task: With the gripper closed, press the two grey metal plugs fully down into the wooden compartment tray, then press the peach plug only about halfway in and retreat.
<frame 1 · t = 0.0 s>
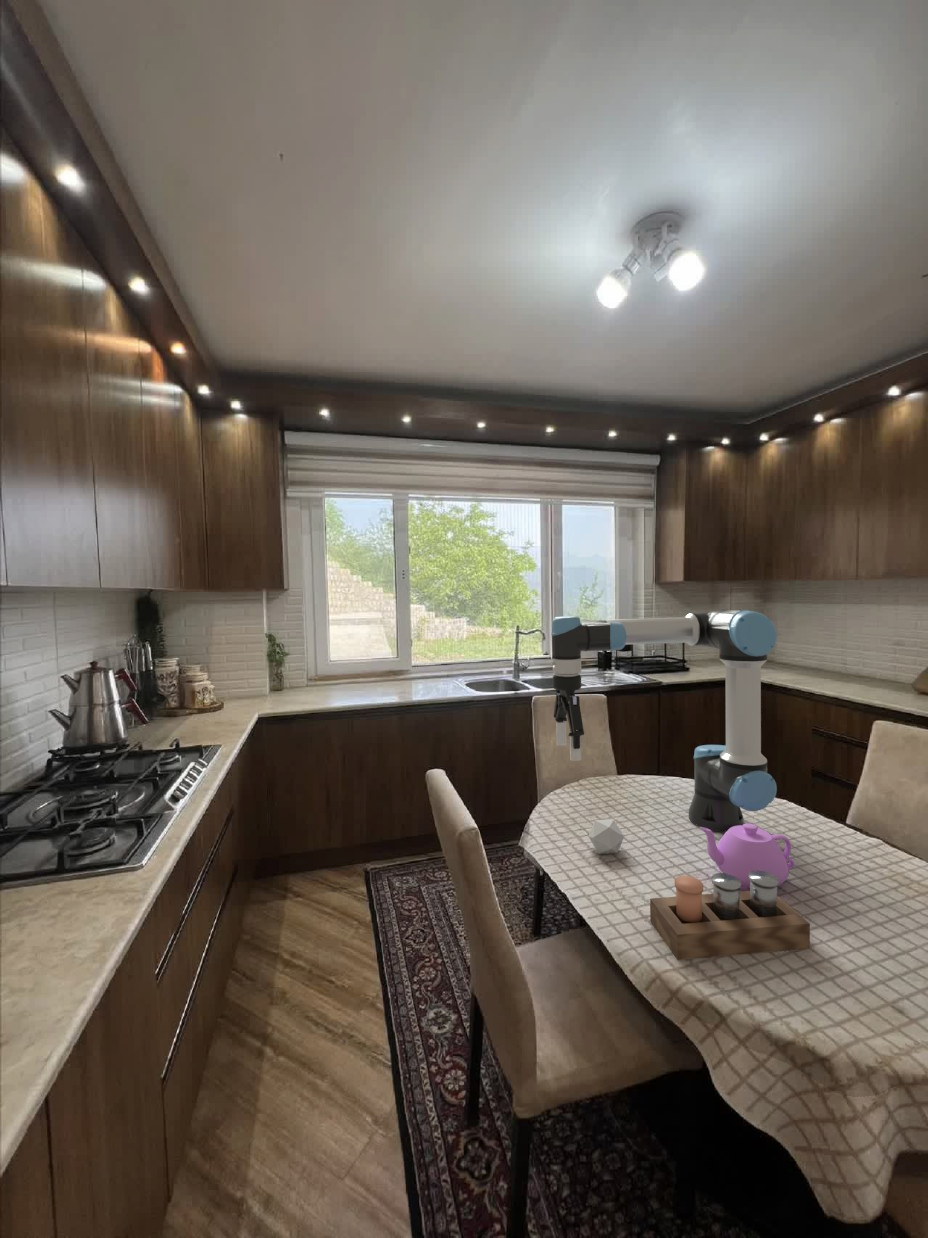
hand: (568, 752, 141), 28 cm above the table, fingers open, 13 cm apart
die: (606, 851, 144), on the table
grey plug near: (763, 893, 108), point 8 cm above the table, slide at 0.0 cm
wooden compartment tray: (726, 934, 108), on the table
peach plug: (688, 899, 107), point 8 cm above the table, slide at 0.0 cm
teapot: (746, 881, 127), on the table
grey plug mid: (726, 896, 107), point 8 cm above the table, slide at 0.0 cm
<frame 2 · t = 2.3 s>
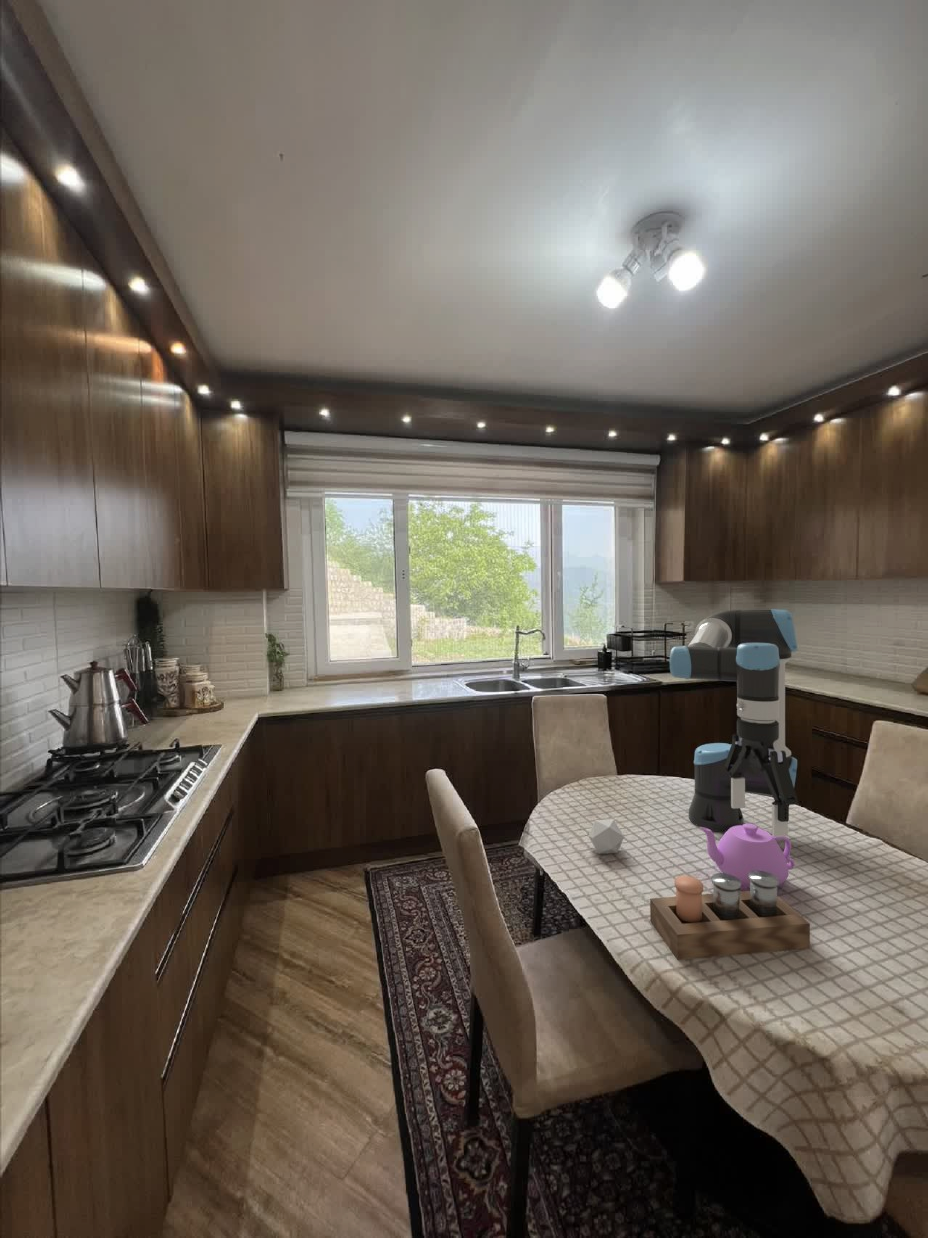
hand: (757, 821, 108), 23 cm above the table, fingers open, 13 cm apart
nothing on the table moved.
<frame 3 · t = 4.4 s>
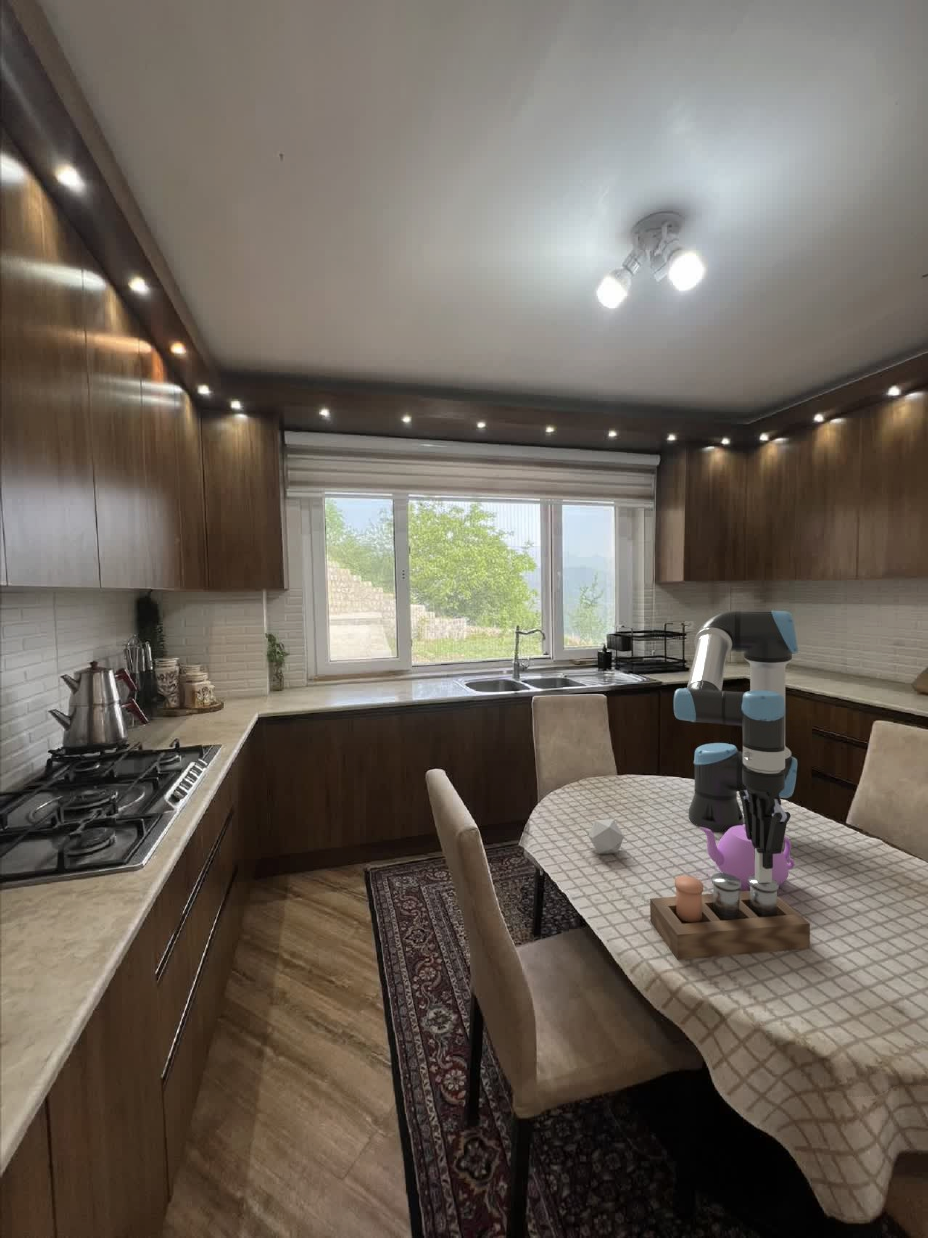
hand: (763, 880, 108), 11 cm above the table, fingers closed
grey plug near: (763, 897, 108), point 7 cm above the table, slide at 0.9 cm, touching gripper
everything else where it was.
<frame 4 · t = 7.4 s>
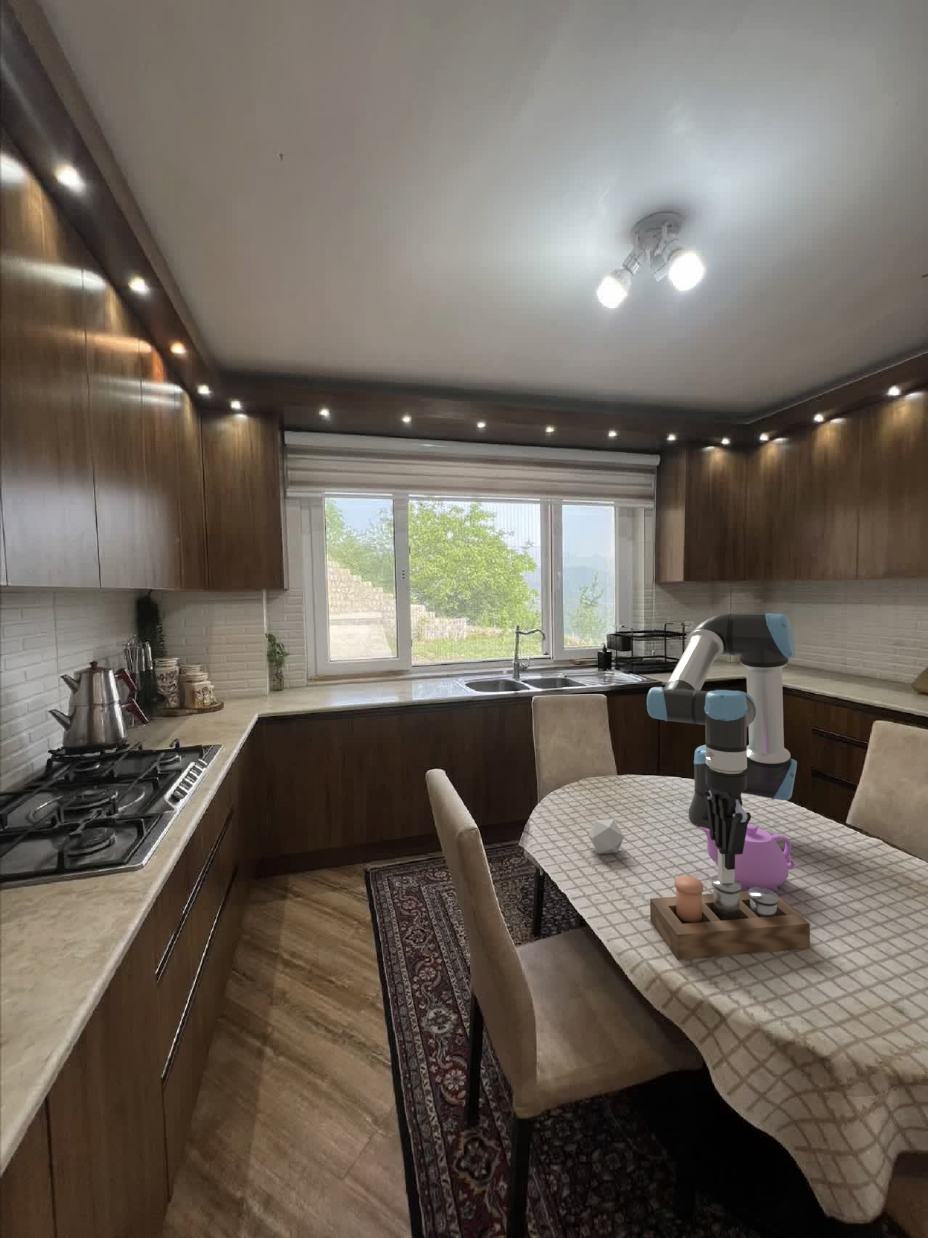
hand: (726, 881, 107), 11 cm above the table, fingers closed
grey plug near: (763, 910, 108), point 4 cm above the table, slide at 3.6 cm
grey plug mid: (726, 898, 107), point 8 cm above the table, slide at 0.5 cm, touching gripper
everything else where it was.
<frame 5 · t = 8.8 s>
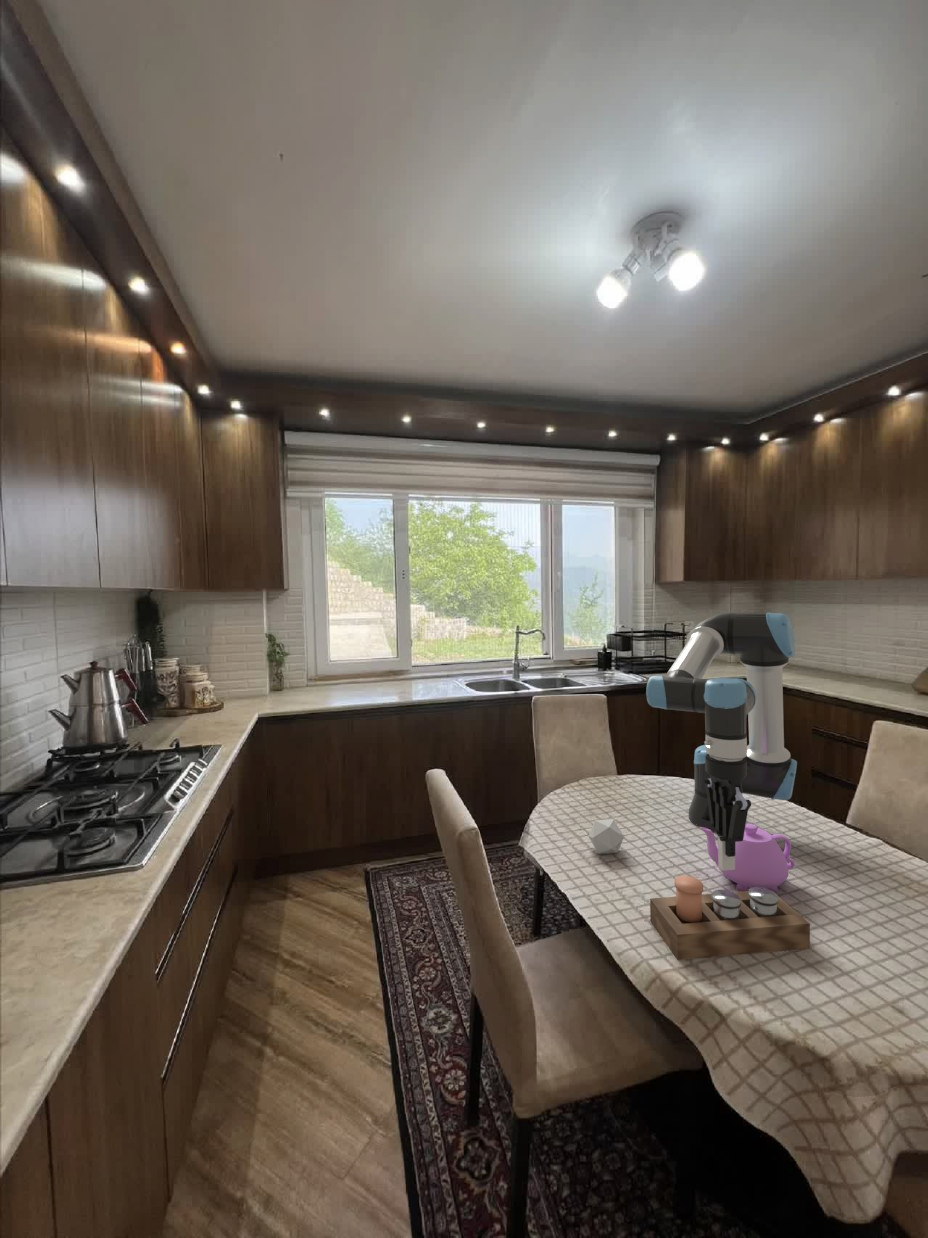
hand: (726, 868, 107), 14 cm above the table, fingers closed
grey plug mid: (726, 913, 107), point 4 cm above the table, slide at 3.6 cm
everything else where it was.
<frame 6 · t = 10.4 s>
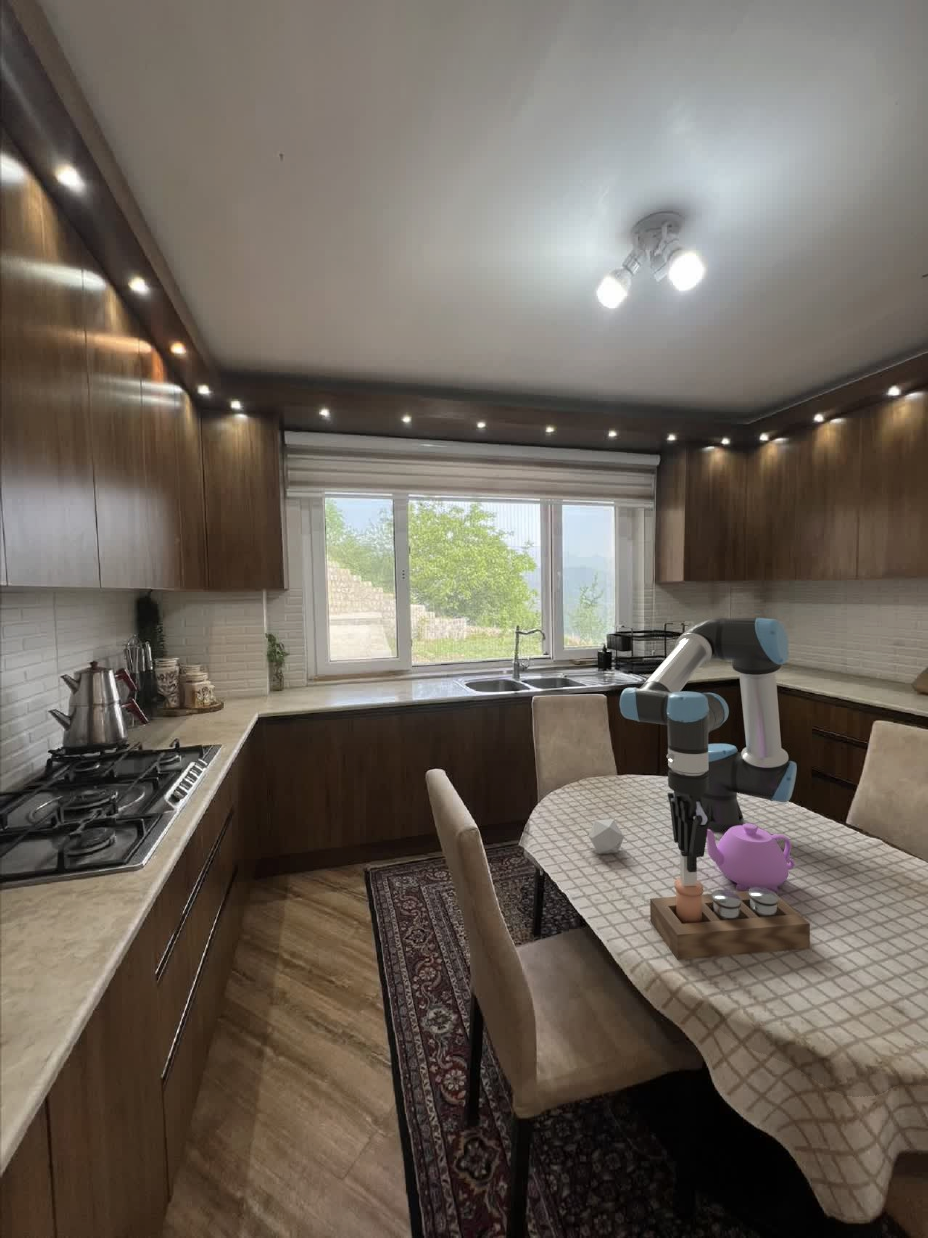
hand: (688, 883, 106), 11 cm above the table, fingers closed
peach plug: (688, 901, 107), point 8 cm above the table, slide at 0.4 cm, touching gripper
everything else where it was.
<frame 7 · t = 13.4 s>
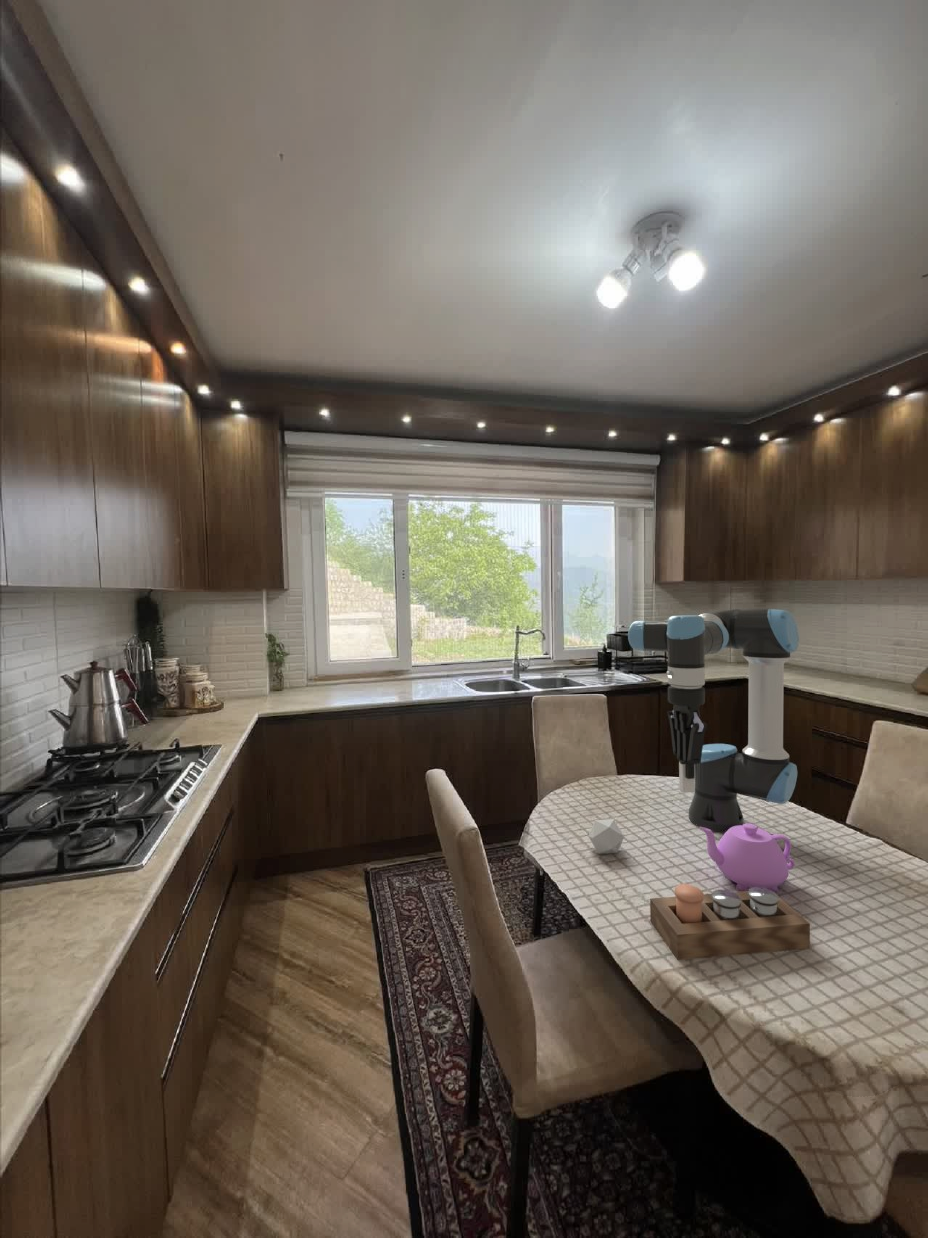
hand: (686, 790, 116), 26 cm above the table, fingers closed
peach plug: (688, 907, 107), point 6 cm above the table, slide at 1.8 cm
everything else where it was.
at the end: grey plug near slide at 3.6 cm; grey plug mid slide at 3.6 cm; peach plug slide at 1.8 cm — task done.
